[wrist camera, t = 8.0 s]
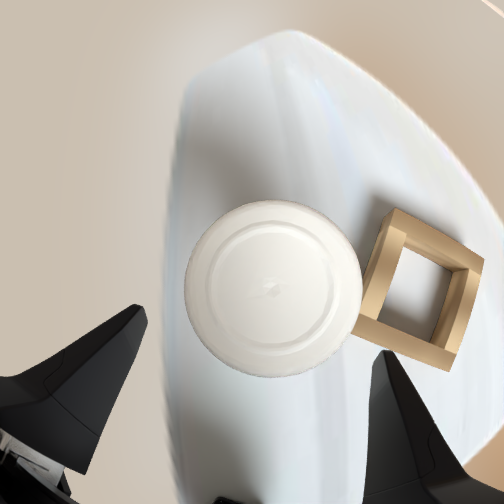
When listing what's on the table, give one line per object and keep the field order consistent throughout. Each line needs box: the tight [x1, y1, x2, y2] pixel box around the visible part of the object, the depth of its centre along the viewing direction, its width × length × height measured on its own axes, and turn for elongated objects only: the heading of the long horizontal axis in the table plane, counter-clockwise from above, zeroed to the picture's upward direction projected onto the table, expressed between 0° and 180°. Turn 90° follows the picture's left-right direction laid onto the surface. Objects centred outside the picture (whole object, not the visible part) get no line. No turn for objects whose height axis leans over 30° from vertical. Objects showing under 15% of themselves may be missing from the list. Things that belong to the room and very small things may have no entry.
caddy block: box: [351, 208, 484, 372], centre depth 17 cm, size 9×9×2 cm
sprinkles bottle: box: [184, 200, 363, 378], centre depth 13 cm, size 5×5×13 cm
